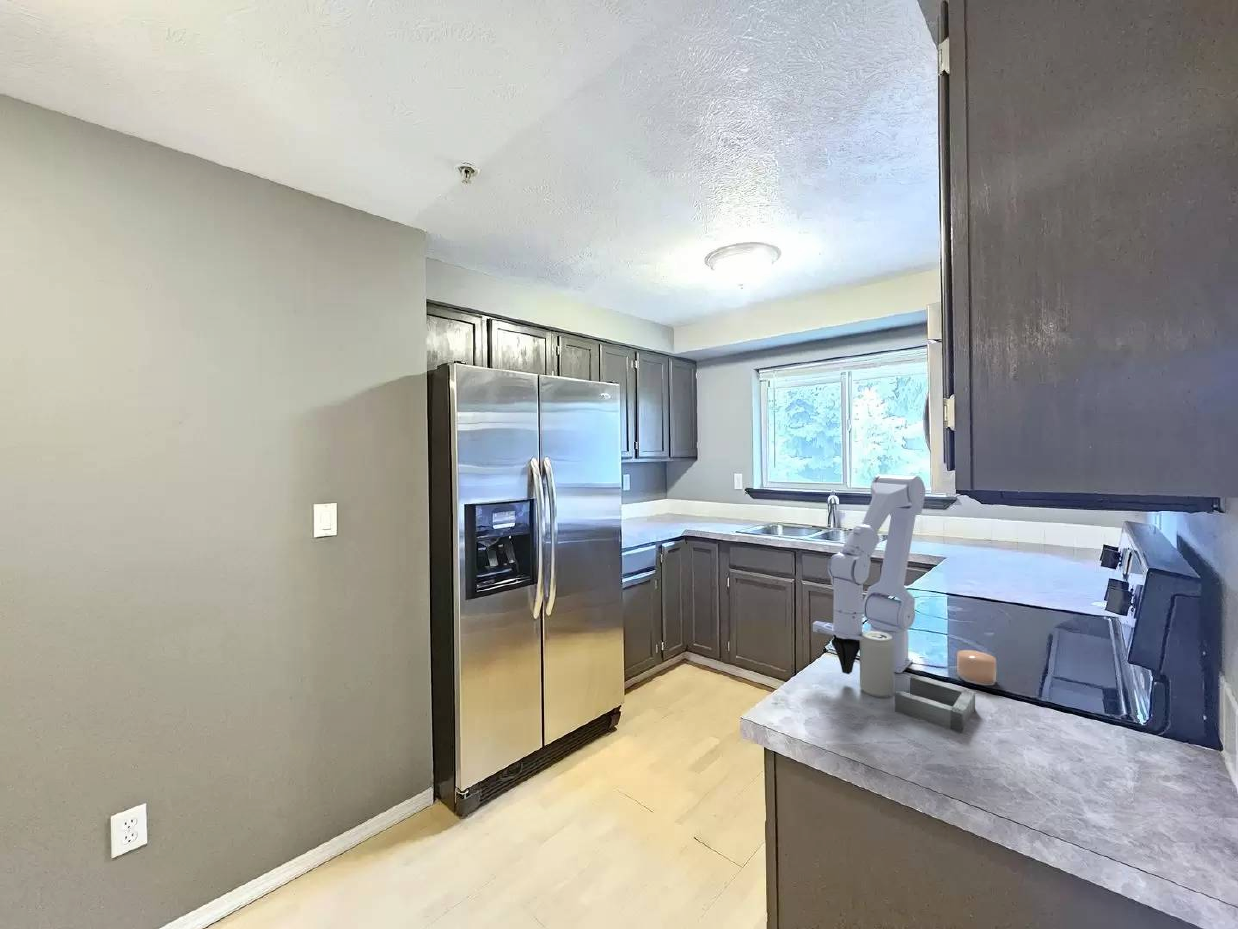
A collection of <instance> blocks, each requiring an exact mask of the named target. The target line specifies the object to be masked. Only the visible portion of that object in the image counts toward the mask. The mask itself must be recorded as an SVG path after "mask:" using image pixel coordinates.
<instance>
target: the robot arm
mask: <svg viewBox="0 0 1238 929" xmlns="http://www.w3.org/2000/svg"><path fill="white" fill-rule="evenodd" d="M870 496H871V501H870V503H869V505H868V509H867V510H866V512H865V514H864V517H863V520H862V522H861V523H860V524H861V525H860V524H859V525H855V526H854V527H853V528H852V529H851V532H850V534H849V535H848V537H847V539H846V541H845V543H844V545H843V546H842V548H841V550H840V552H837V553H835V554H833V555H832V556H831V557H830V559H829V561H828V566H827V573H828V576H829V578H830V584H831V586H832V587H833V607H832V608H833V609H832V611H833V618H832V619H833V623H831V622H824V621H818V620H815V621H814V622H813V623H812V632H814V633H822V634H826V635H829V636H833V637H832V639H831V645H832V647H833V649H834V650H835V652H836V654H837V657H838V659H839V663H840V668H841V672H842V673H843V674H846V675H850V674H851V673H852V672H853V669H854V665H855V661H856V658H857V655H858V654H859V653H860V640H862V639H863V637H862V632H864V631H866V630H865V629H863V618H865V619H866V620H867V624H868V625H870V631H879V632H884V633H887V634H889V635H891V636H892V641H893V642H894V673H897V674H902V673H903V671H905V670H906V669H907V668H908V666H910V665H911V663H913V661H914V660H913V658H911V657H909V638H910V637H909V632H908V630H909V629H910V628H911V627H912V626H913V624H914V622H915V618H916V611H915V604H916V603H915V602H916V601H915V600H916V599H915V598H914V596H913V594H911V592H909V591H908V590H907V588H906V587H905V586H904V585H905V581H906V575H907V569H908V563H909V556H910V552H911V546H912V539H913V535H914V534H913V533H914V528H915V523H916V516H918V515H921V514H922V512H923V507H924V503H925V497H926V487H925V483H924V481H923V480H922V478H921V477H920V476H919V475H914V476H908V475H904V476H903V475H891V474H890V475H889V474H888V475H887V474H881V473H880V474H876V476H874V478H873V480H872V482H871V486H870ZM889 516H890V522H889V526H888V531H887V532H888V533H887V536H886V543H885V548H884V555H883V561H882V564H881V565H882V566H881V571H880V576H879V581H878V582H876V583H874V584H873V585H870V586H869V587H867V591H866V595H865V596H864V589H863V588H864V583H865V582H866V581H867V579H868V578H869V574H870V566H871V564H872V561H871V557H872V555H873V554H874V552H875V550H876V548H877V546H878V543H879V542H880V536H879V534H878V532H879V531H880V529H881V527H882V526H883V525H884V524H885V521H886V520H887V519H888V517H889ZM884 595H885V596H884ZM863 596H864V597H863ZM887 596H890V597H887ZM891 597H894V598H891ZM895 598H897V599H895ZM879 638H882V639H884V638H885V637H879Z"/></svg>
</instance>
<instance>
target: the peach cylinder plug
mask: <svg viewBox="0 0 1238 929" xmlns="http://www.w3.org/2000/svg"><path fill="white" fill-rule="evenodd" d="M956 655H957V656H956V660H957V662H956V664H957V665H956V666H957V667H956V675H957V674H958V675H961V676H962V677H964V678H966V679H968V680H970V681H976V682H979V683H982V684H990V683H995V682H996V683H997V659H996V657H995V656H993V655H991V654H988V653H986V652H982V651H979V650H972V649H963V650H958V651H957V654H956Z"/></svg>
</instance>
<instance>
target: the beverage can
mask: <svg viewBox="0 0 1238 929" xmlns="http://www.w3.org/2000/svg"><path fill="white" fill-rule="evenodd" d="M862 637H863V639H862V640H860V650H859V687H860V689H861V690H862V691H863V692H864V693H865V694H867V695H869V696H871V697H875V698H881V699H883V698H890V697H891V696H892V695H893V694H894V693H895V672H894V642H893V641H892V636H891V635H889V634H887V633H884V632H879V631H871V630H865V631H864V632H862ZM879 637H885V638H884V639H882V638H879Z"/></svg>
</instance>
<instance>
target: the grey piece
mask: <svg viewBox="0 0 1238 929" xmlns="http://www.w3.org/2000/svg"><path fill="white" fill-rule="evenodd" d="M894 693H895V694H894V712H896V713H898V714H902V715H906V716H909V717H911V718H915V719H918V720H921V721H923V722H927V723H930V724H933V725H935V726H938V727H941V728H945V729H948V730H951V731H954V732H957V733H961V734H962V733H963V732H964V730H965V729H966V727H967V725H968V723H969V721H970V720H971V718H972V716H973V714H974V712H975V710H976V691H974V690H970V689H967V688H963V687H959V686H956V685H952V684H948V683H945V682H942V681H937V680H935V679H930V678H927V677H923V676H919V675H916V674H913V673H911V675H910V677H909V692H905V691H903V690H902V691H901V690H899V689H898V690H897V691H896V692H894Z"/></svg>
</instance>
